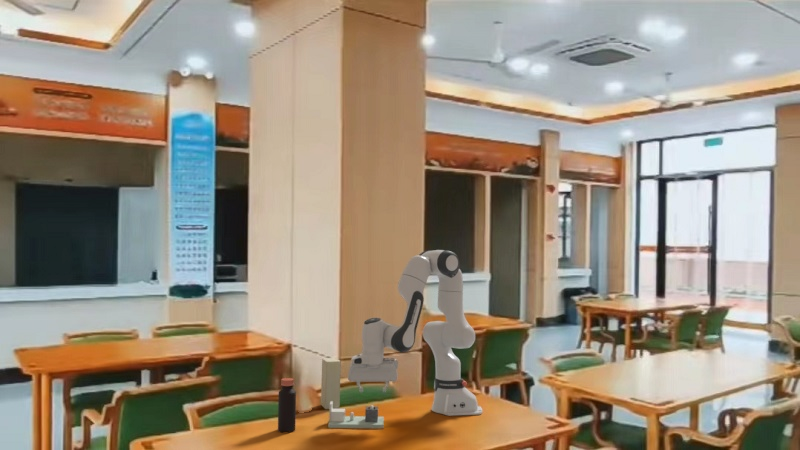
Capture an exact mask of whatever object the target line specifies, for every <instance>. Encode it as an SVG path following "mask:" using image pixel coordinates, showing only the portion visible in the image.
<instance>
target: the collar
mask: <svg viewBox="0 0 800 450" xmlns="http://www.w3.org/2000/svg"><path fill="white" fill-rule="evenodd" d="M364 415H365V422H378V417H379V406H373V409H370V406H365V414H364Z"/></svg>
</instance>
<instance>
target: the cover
mask: <svg viewBox="0 0 800 450" xmlns="http://www.w3.org/2000/svg"><path fill="white" fill-rule="evenodd" d="M328 410H329V412H328V413H329V416H328V417H329V419H328V422H329V421H335V422H344V419H345V416H346V408H334V409H333V401H331V402H330V408H329V409H328Z"/></svg>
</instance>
